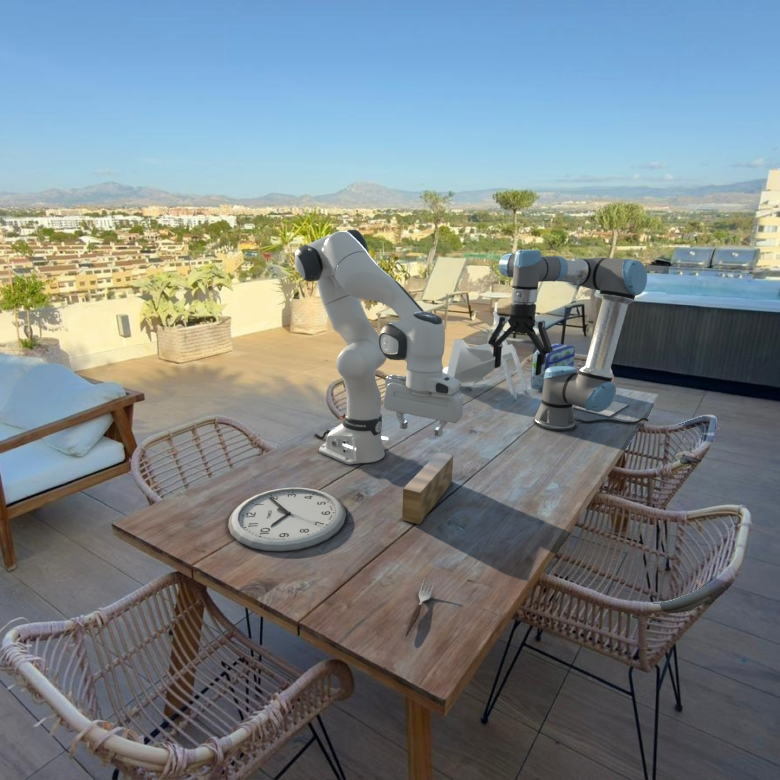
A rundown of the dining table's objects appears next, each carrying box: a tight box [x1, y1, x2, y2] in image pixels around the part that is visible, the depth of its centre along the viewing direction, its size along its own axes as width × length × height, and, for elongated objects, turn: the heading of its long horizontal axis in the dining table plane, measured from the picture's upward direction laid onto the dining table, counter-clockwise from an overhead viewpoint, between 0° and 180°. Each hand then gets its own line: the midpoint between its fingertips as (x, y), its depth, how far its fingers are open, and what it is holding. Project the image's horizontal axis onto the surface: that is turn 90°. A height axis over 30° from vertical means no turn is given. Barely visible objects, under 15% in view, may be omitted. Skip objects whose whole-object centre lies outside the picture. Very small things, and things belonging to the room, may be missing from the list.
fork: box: [405, 577, 435, 637], centre depth 104 cm, size 3×16×2 cm, turn 160°
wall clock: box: [227, 487, 347, 552], centre depth 136 cm, size 30×2×30 cm
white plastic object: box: [443, 310, 531, 400], centre depth 245 cm, size 37×45×31 cm
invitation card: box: [573, 400, 629, 418], centre depth 226 cm, size 21×1×15 cm
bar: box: [401, 451, 454, 525], centre depth 145 cm, size 26×5×9 cm, turn 154°
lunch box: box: [530, 343, 576, 391], centre depth 249 cm, size 26×11×21 cm, turn 134°
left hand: (420, 431), depth 132 cm, fingers open, 8 cm apart
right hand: (517, 370), depth 164 cm, fingers open, 13 cm apart
